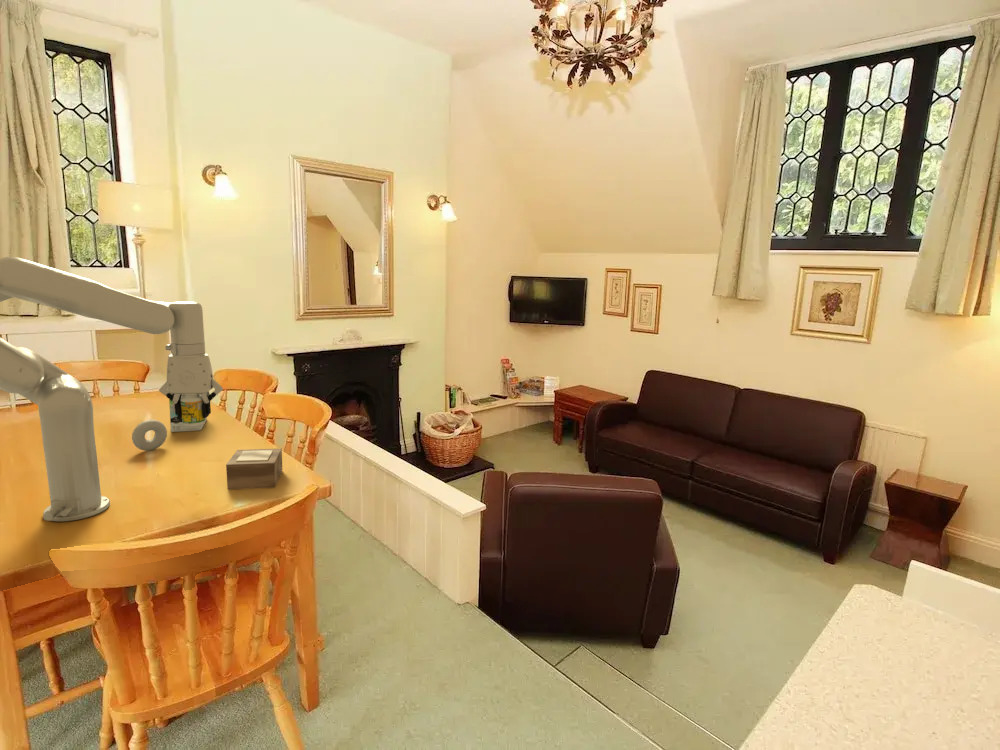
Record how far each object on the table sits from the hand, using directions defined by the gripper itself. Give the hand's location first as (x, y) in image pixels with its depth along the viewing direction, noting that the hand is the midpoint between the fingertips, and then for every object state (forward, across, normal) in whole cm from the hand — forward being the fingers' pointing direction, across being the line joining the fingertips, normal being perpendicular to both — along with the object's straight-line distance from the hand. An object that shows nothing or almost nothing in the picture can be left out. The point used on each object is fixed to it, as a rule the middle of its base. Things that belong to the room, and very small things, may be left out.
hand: (193, 416), depth 144 cm
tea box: (+20, -19, +58) cm, 64 cm away
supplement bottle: (+2, 0, 0) cm, 2 cm away
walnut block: (+19, +14, +2) cm, 24 cm away
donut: (+20, -22, +31) cm, 43 cm away
